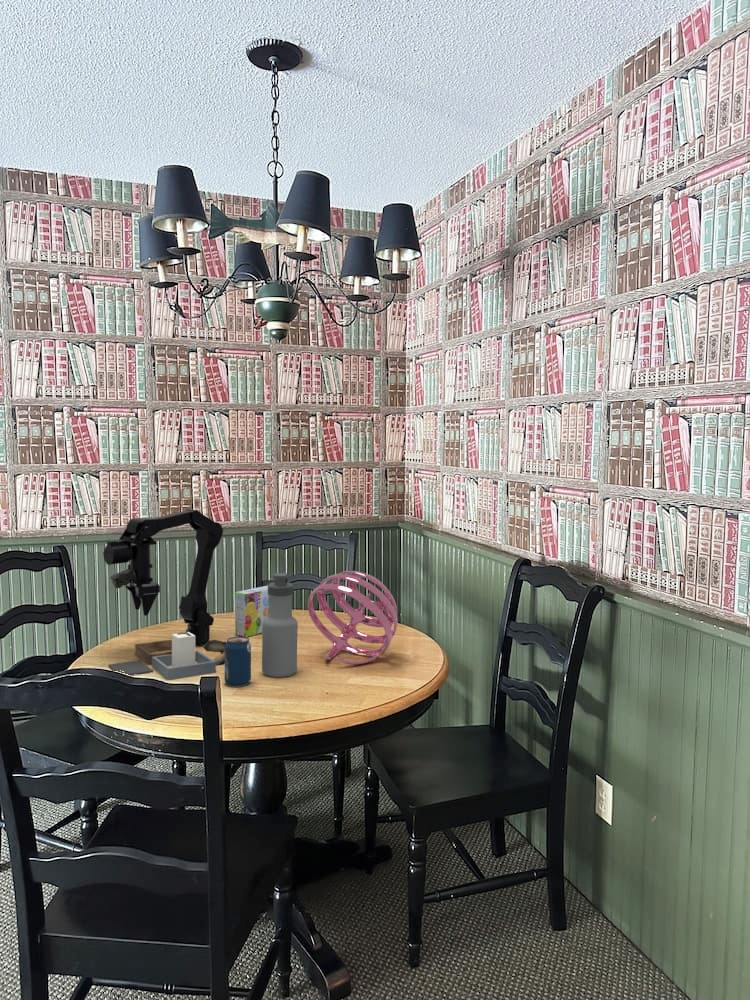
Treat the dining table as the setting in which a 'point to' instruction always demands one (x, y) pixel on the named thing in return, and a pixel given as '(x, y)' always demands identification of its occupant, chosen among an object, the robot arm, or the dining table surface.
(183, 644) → the letter block
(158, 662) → the frame
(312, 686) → the dining table surface
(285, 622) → the water bottle
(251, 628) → the snack box
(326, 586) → the spiral basket
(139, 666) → the dark grey flat slab
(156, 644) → the frame
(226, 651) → the soda can
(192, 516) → the robot arm
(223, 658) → the eagle figurine
